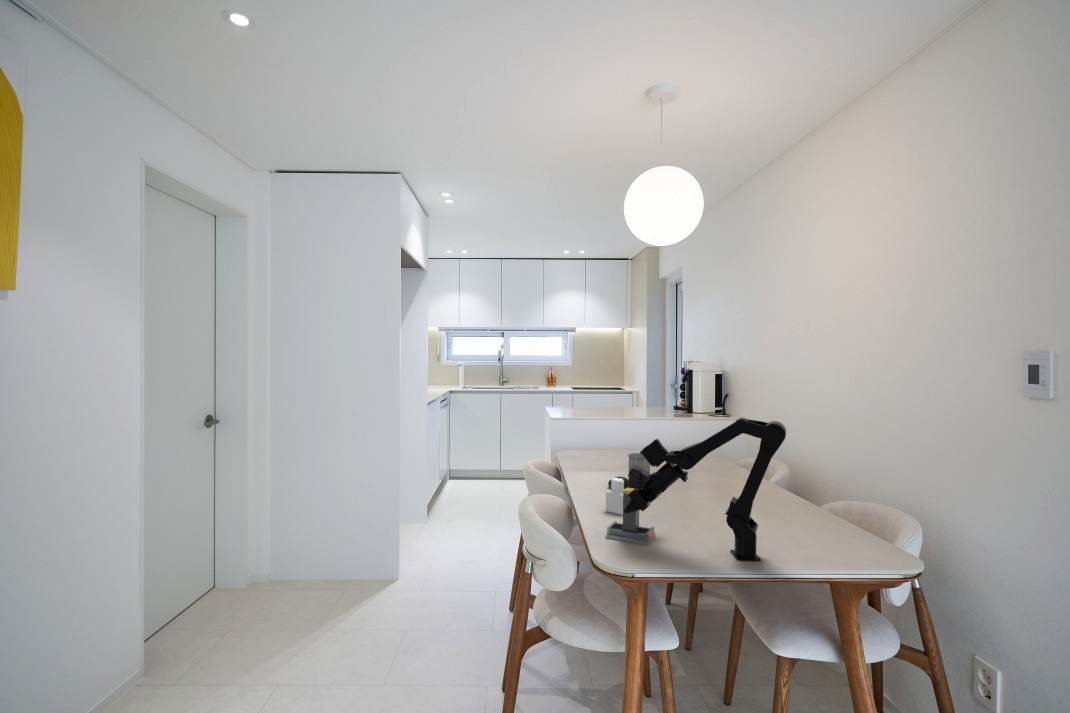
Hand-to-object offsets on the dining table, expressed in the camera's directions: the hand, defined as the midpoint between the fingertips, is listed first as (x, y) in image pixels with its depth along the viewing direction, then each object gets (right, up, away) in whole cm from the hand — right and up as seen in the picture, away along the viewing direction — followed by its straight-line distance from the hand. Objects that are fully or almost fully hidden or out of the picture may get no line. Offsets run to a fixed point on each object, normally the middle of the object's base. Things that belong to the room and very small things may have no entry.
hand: (626, 510), depth 169 cm
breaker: (+1, -7, -1) cm, 7 cm away
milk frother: (+10, -7, +54) cm, 56 cm away
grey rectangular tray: (+1, -8, 0) cm, 8 cm away
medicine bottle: (+2, -8, +26) cm, 27 cm away
